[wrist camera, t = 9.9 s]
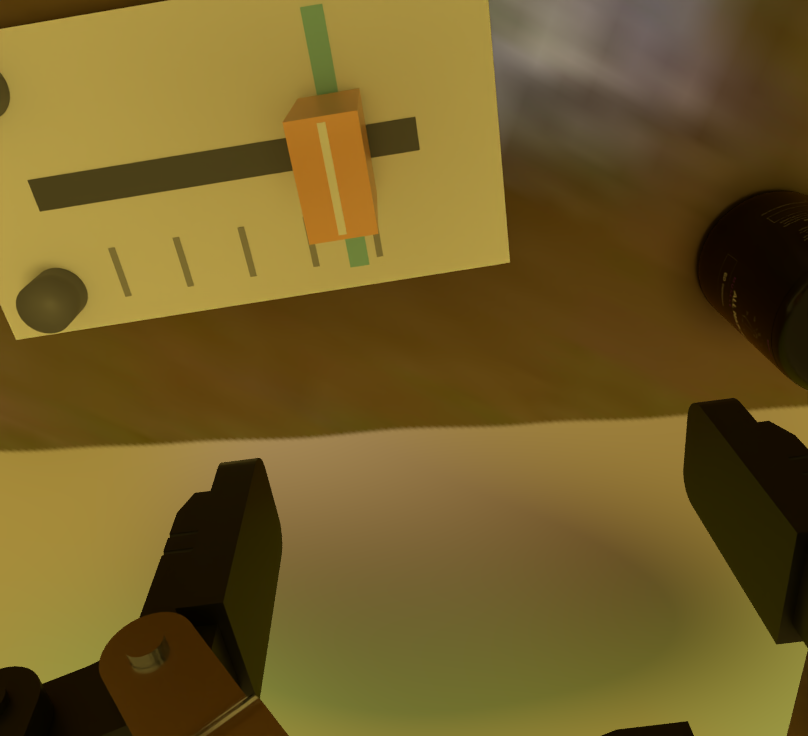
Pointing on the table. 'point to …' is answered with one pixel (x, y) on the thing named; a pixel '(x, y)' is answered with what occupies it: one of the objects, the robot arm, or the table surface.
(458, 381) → the table surface
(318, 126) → the fader cap
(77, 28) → the console
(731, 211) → the supplement bottle
